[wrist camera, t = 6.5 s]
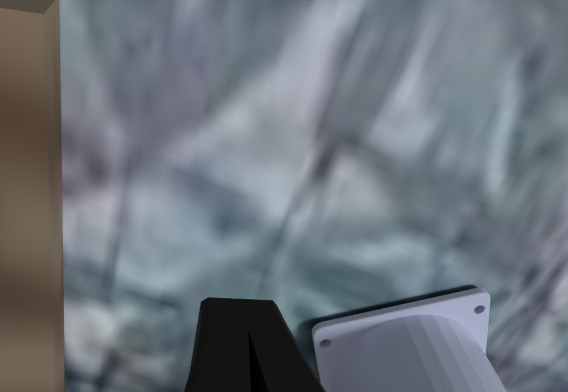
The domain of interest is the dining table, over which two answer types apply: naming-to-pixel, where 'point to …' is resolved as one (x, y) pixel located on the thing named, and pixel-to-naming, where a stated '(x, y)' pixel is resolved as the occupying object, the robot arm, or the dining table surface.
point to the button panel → (31, 199)
